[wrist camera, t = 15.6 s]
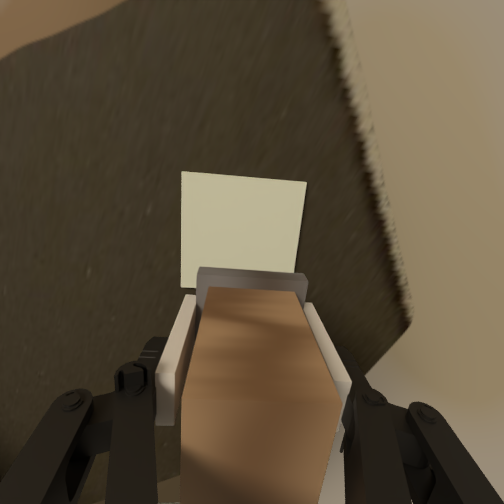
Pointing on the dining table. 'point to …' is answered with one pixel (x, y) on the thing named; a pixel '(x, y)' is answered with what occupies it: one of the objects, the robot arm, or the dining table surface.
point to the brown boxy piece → (255, 394)
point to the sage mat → (239, 223)
